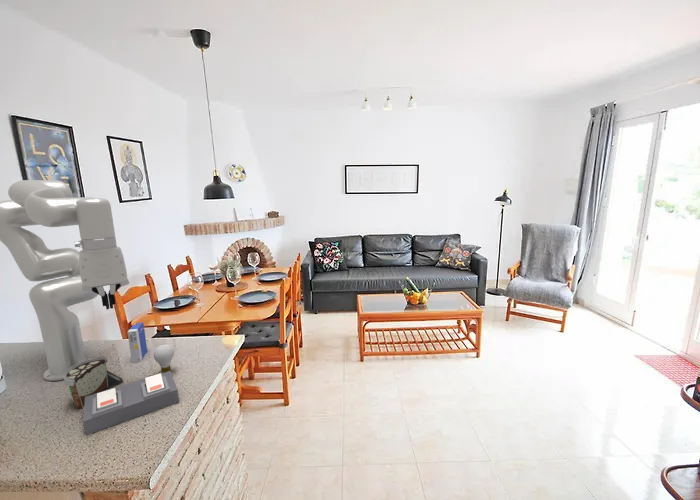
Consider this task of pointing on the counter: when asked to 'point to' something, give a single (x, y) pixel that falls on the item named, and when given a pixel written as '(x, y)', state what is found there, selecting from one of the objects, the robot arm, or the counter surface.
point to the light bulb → (164, 356)
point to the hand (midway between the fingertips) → (109, 307)
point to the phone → (112, 380)
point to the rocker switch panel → (129, 404)
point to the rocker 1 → (106, 399)
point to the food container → (86, 379)
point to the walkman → (137, 342)
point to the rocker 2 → (154, 383)
